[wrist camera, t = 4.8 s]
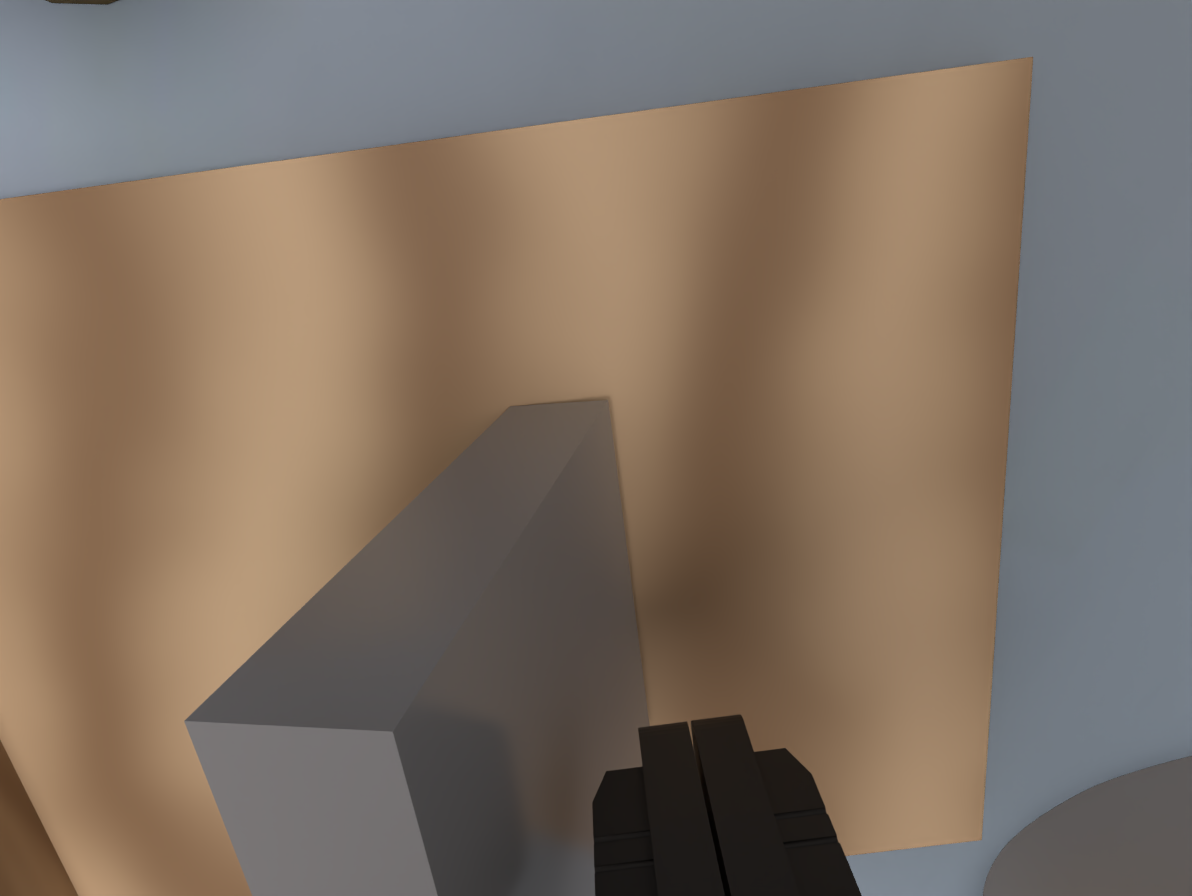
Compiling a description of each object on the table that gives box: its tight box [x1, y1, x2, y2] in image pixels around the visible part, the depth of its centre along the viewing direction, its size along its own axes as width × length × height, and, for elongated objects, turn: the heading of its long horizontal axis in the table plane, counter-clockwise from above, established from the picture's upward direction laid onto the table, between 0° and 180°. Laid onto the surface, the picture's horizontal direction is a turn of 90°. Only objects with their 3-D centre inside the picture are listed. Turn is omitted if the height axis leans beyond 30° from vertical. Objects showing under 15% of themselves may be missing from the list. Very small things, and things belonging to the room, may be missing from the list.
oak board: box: [0, 57, 1033, 896], centre depth 15 cm, size 24×18×3 cm
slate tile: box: [184, 400, 650, 896], centre depth 12 cm, size 2×8×9 cm, turn 7°
